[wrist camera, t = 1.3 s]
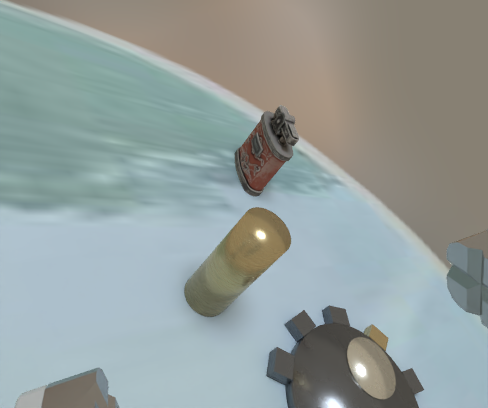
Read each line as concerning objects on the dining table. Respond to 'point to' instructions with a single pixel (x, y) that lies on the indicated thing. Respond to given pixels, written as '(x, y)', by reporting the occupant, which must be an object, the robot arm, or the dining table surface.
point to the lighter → (266, 150)
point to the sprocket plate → (340, 366)
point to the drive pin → (237, 261)
